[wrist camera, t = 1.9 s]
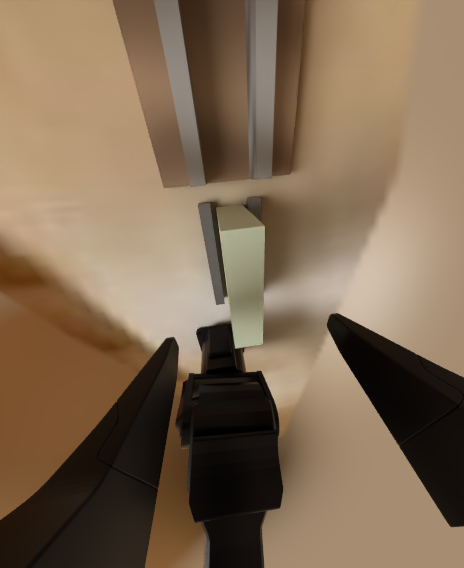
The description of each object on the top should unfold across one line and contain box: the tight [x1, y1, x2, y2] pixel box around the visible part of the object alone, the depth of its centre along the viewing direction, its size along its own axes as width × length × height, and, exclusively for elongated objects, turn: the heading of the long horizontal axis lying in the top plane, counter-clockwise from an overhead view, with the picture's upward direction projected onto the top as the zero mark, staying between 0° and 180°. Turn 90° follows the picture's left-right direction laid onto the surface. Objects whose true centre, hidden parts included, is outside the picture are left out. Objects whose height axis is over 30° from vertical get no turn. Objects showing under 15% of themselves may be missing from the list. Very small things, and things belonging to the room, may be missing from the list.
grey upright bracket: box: [198, 197, 261, 305], centre depth 18 cm, size 11×5×1 cm, turn 5°
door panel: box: [216, 204, 265, 348], centre depth 15 cm, size 10×2×8 cm, turn 5°
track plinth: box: [113, 0, 306, 188], centre depth 9 cm, size 15×10×4 cm, turn 5°
